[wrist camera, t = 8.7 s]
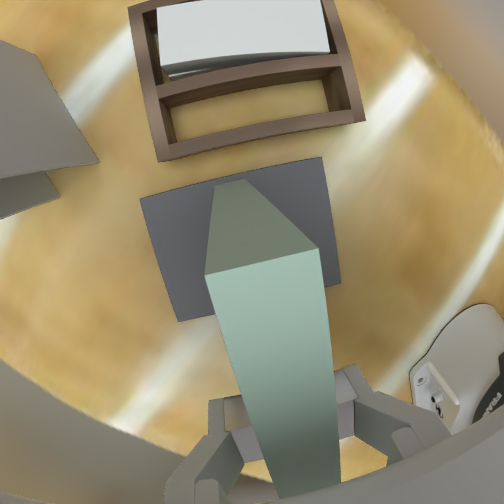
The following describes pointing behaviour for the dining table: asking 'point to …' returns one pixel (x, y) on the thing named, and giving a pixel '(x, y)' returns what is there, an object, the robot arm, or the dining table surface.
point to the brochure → (33, 133)
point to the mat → (198, 223)
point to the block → (275, 335)
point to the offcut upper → (238, 33)
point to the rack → (242, 86)
